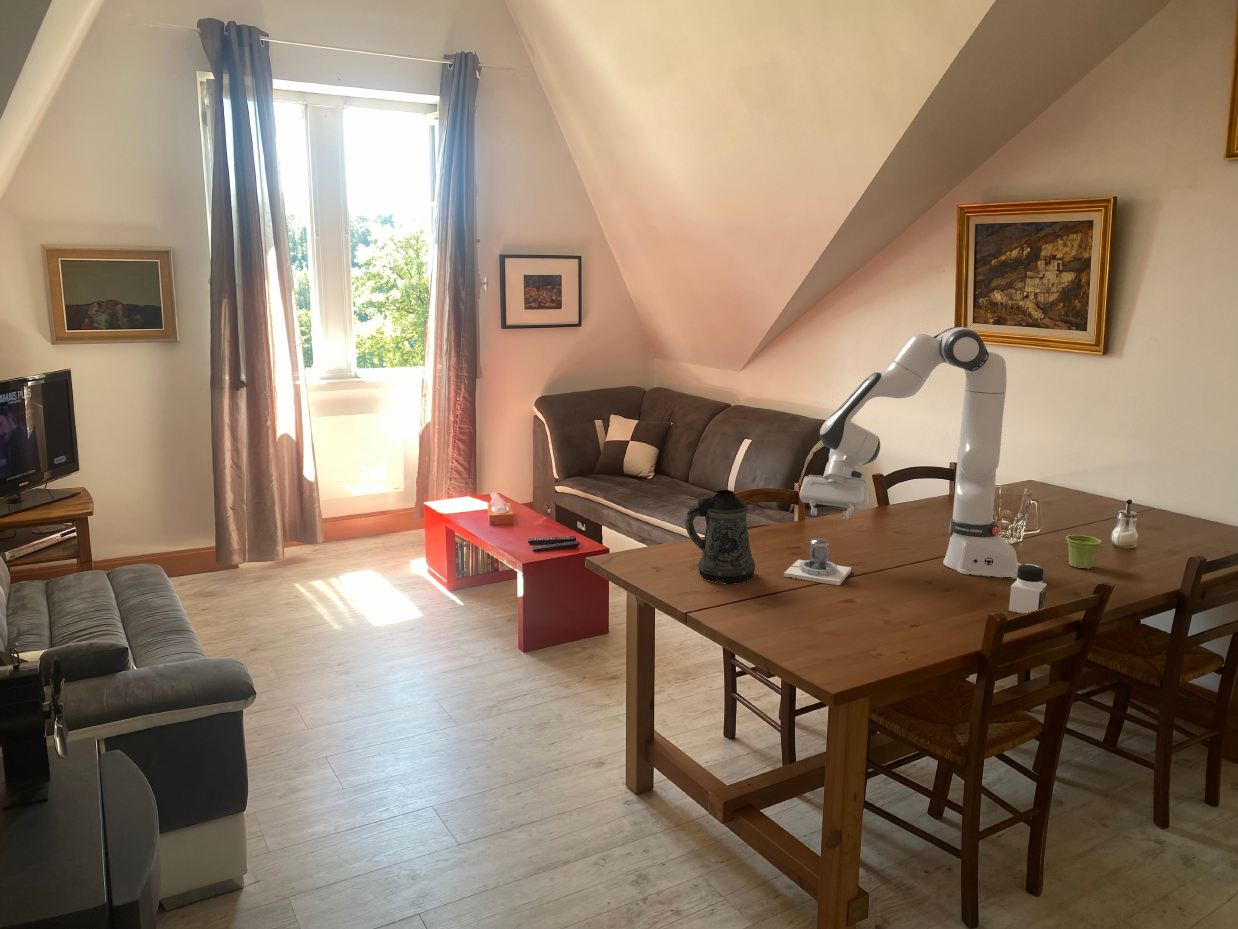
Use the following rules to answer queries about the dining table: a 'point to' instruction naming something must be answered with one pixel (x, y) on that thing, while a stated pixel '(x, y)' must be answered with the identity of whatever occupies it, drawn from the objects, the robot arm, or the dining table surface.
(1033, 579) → the medicine bottle
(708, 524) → the beer stein
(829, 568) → the mounting plate
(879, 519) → the dining table surface
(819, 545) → the coupling
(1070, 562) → the plant pot
